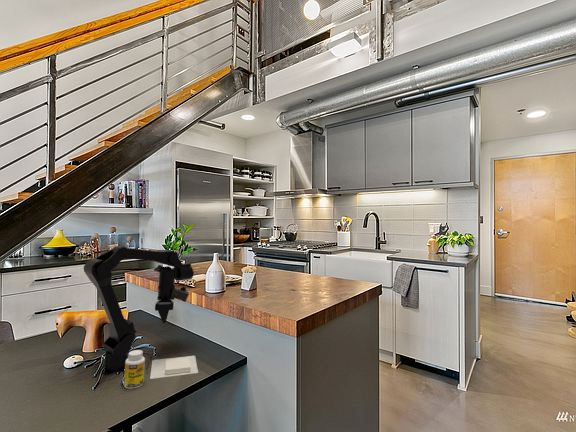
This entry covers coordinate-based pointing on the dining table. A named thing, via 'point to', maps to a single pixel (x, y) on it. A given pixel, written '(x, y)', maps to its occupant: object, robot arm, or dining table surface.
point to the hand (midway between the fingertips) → (164, 322)
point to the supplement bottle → (134, 369)
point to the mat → (159, 367)
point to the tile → (177, 366)
